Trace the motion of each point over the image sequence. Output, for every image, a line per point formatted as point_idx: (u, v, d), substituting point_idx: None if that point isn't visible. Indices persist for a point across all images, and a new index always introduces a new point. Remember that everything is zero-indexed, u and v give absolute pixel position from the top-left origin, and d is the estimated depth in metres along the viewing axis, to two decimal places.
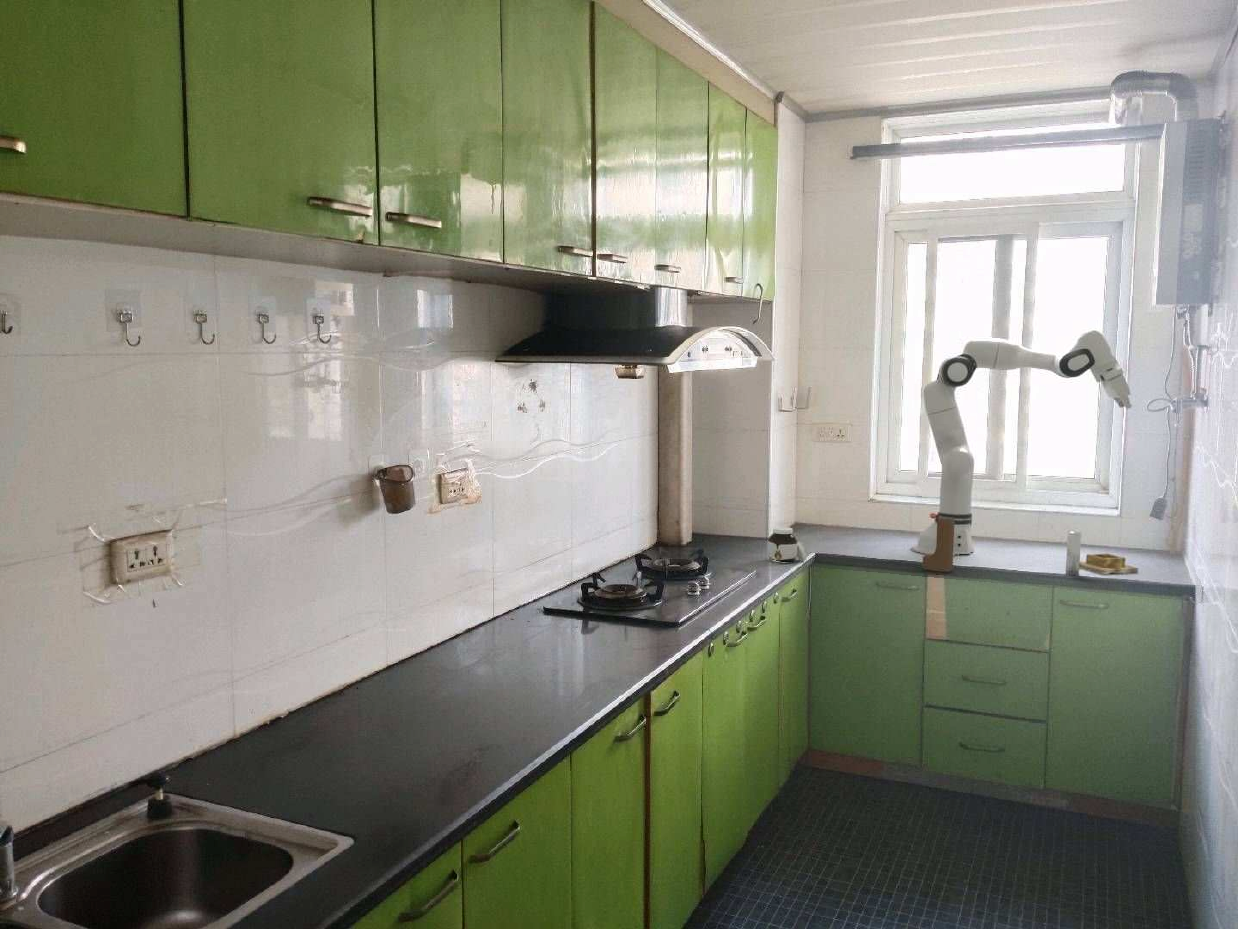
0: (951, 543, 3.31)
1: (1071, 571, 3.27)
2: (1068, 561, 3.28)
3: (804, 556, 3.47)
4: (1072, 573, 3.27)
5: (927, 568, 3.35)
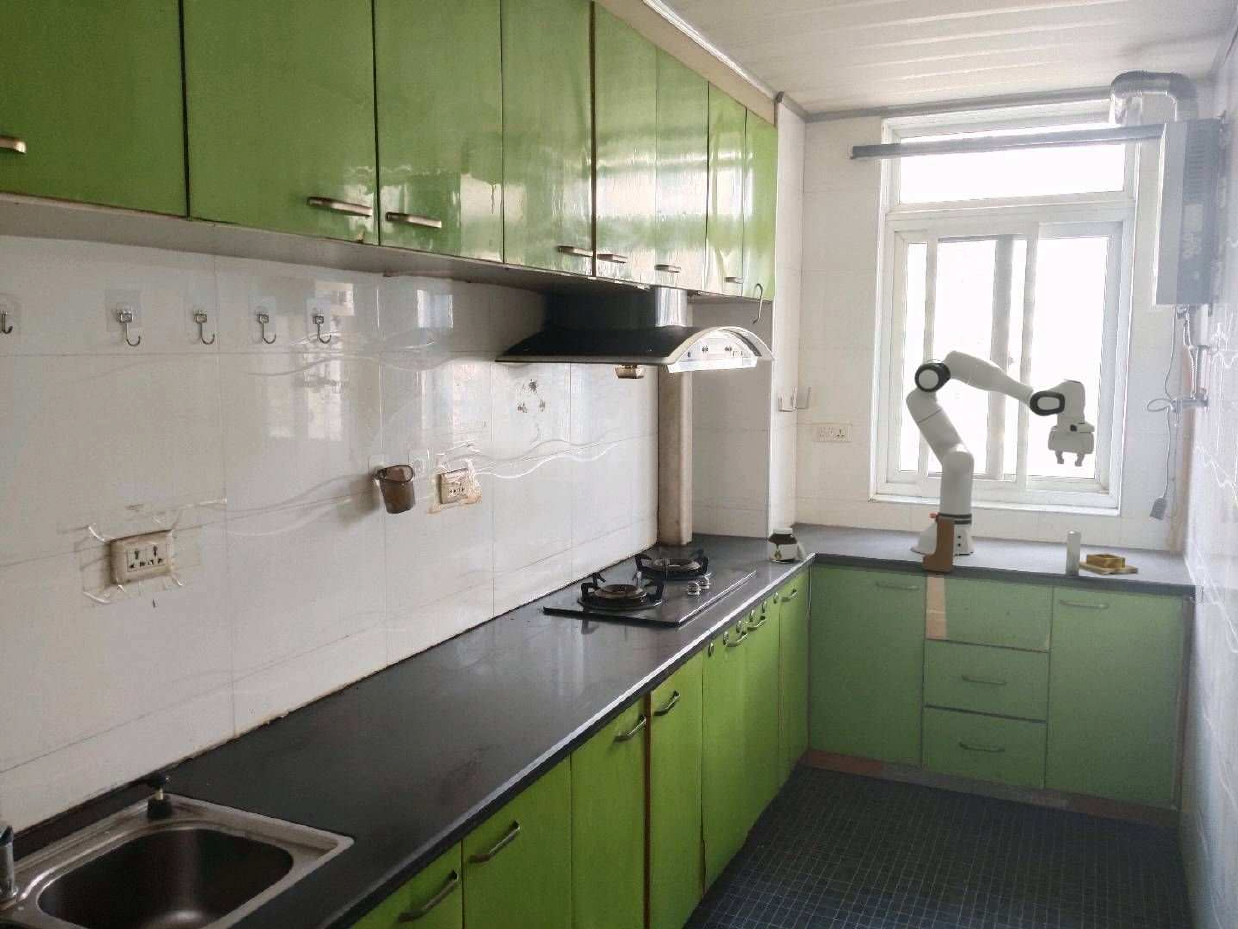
0: (951, 543, 3.31)
1: (1071, 571, 3.27)
2: (1068, 561, 3.28)
3: (804, 556, 3.47)
4: (1072, 573, 3.27)
5: (927, 568, 3.35)
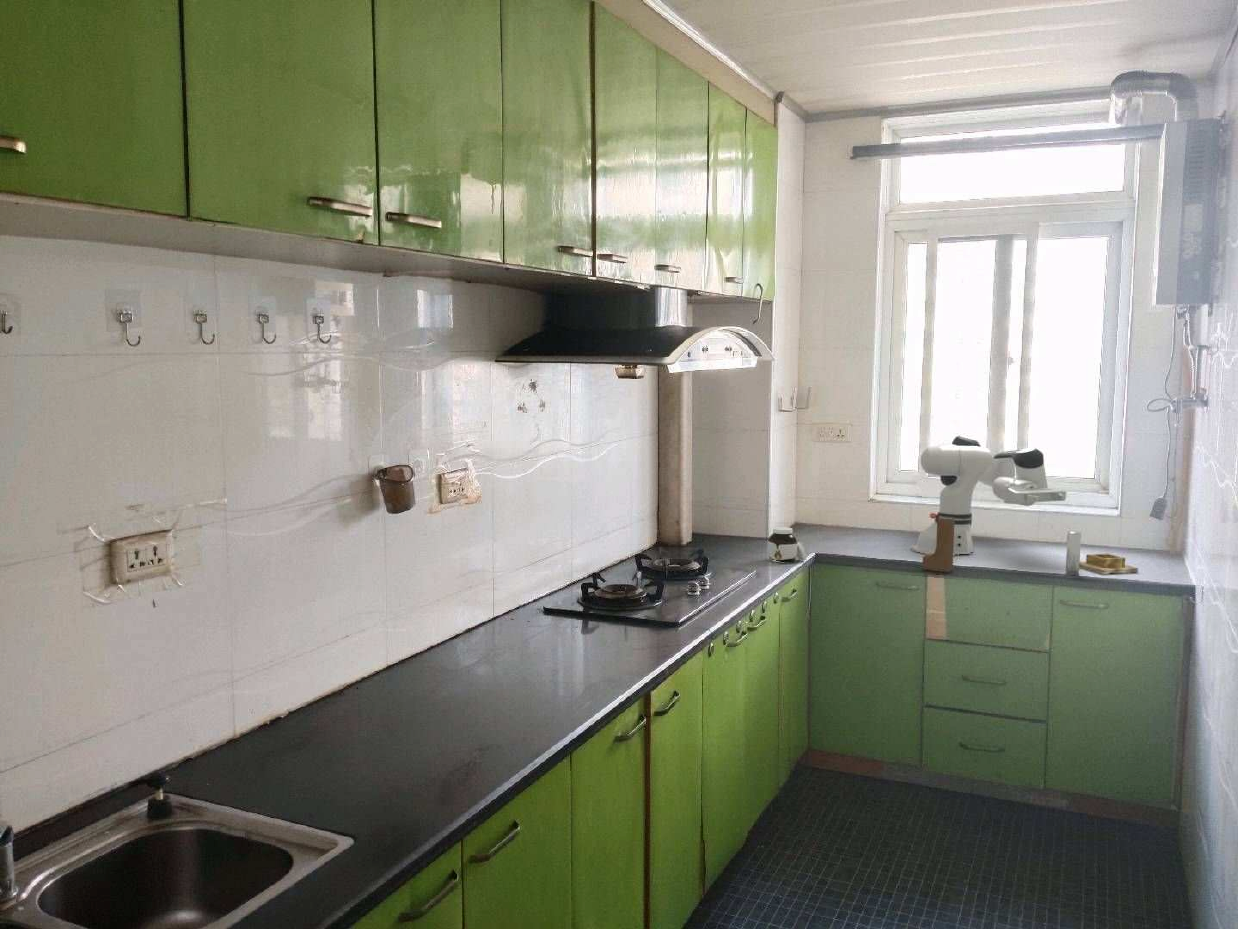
0: (951, 543, 3.31)
1: (1071, 571, 3.27)
2: (1068, 561, 3.28)
3: (804, 556, 3.47)
4: (1072, 573, 3.27)
5: (927, 568, 3.35)
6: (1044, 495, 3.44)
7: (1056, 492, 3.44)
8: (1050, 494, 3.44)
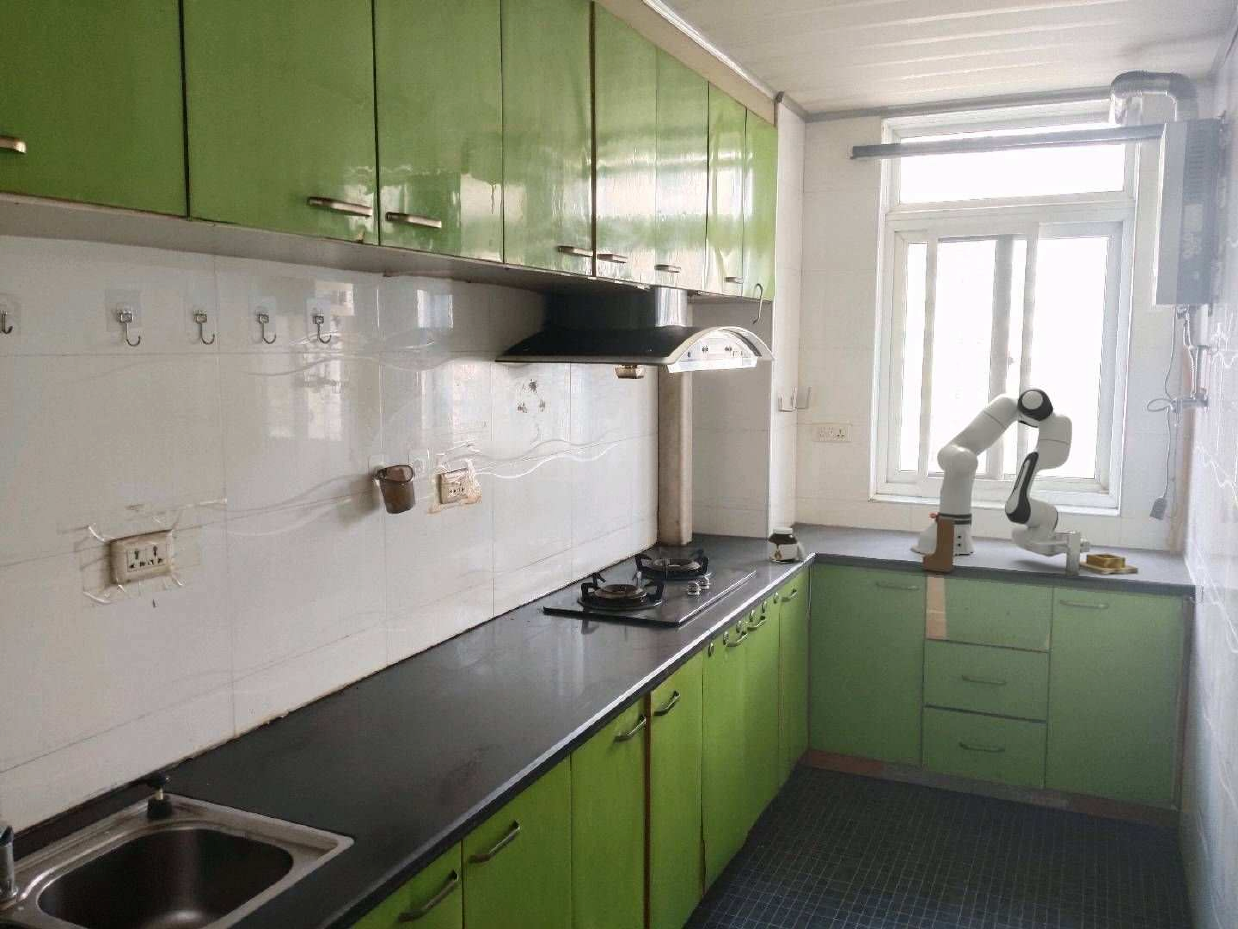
0: (951, 543, 3.31)
1: (1071, 571, 3.27)
2: (1068, 561, 3.28)
3: (804, 556, 3.47)
4: (1072, 573, 3.27)
5: (927, 568, 3.35)
6: None
7: (1051, 552, 3.31)
8: None
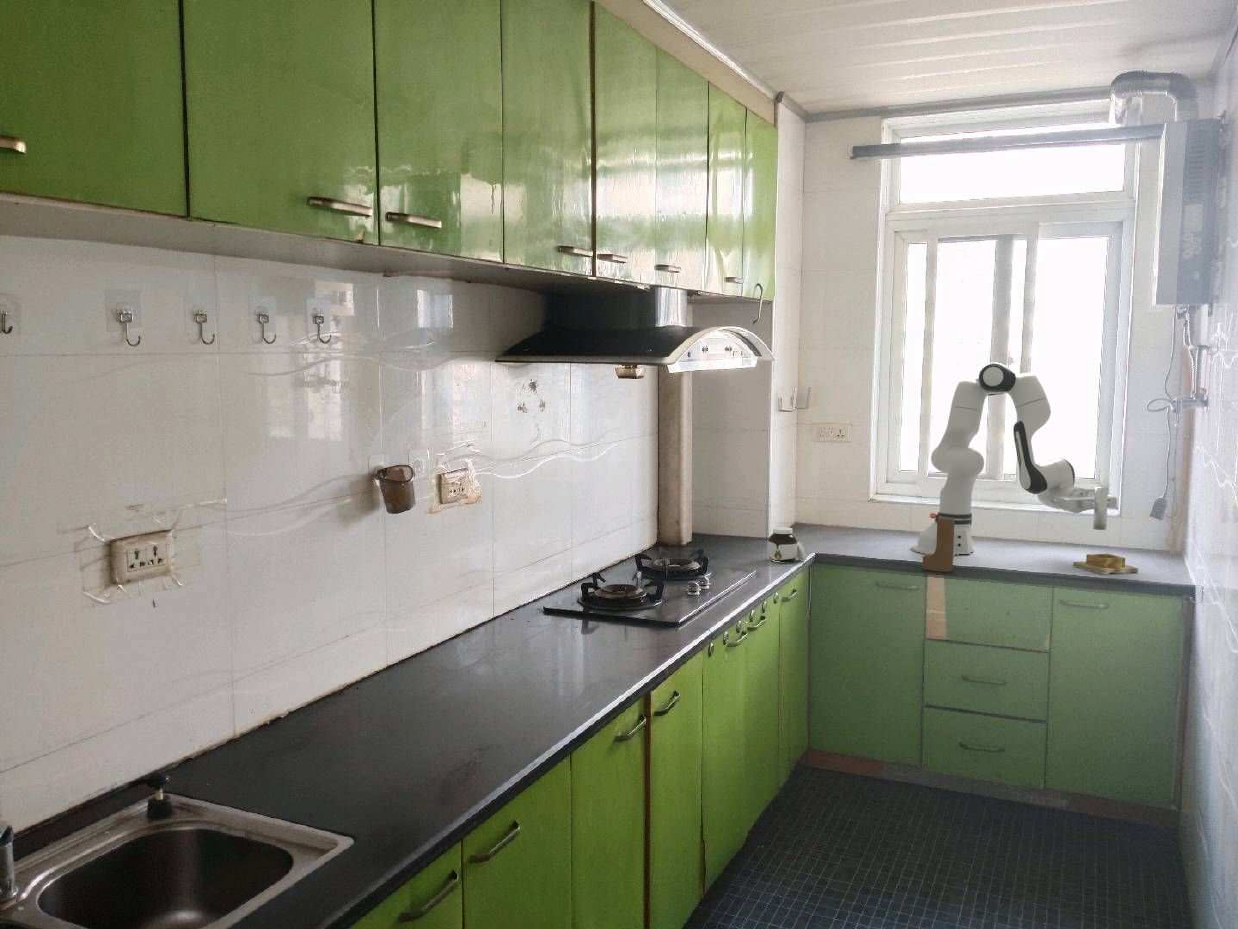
0: (951, 543, 3.31)
1: (1099, 526, 3.31)
2: (1095, 516, 3.32)
3: (804, 556, 3.47)
4: (1099, 527, 3.31)
5: (927, 568, 3.35)
6: None
7: (1078, 508, 3.35)
8: None
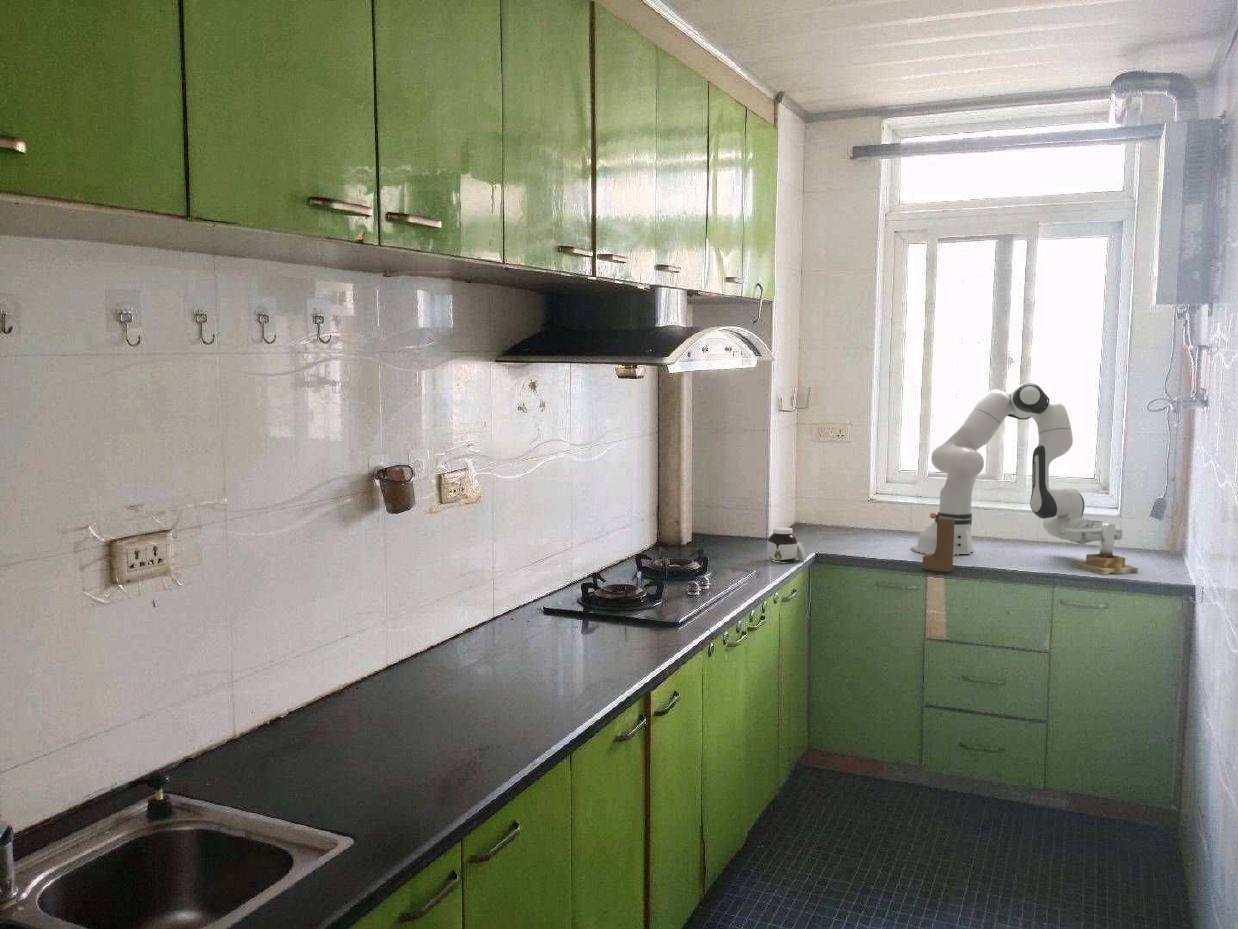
0: (951, 543, 3.31)
1: None
2: (1102, 552, 3.35)
3: (804, 556, 3.47)
4: None
5: (927, 568, 3.35)
6: None
7: (1084, 540, 3.38)
8: None
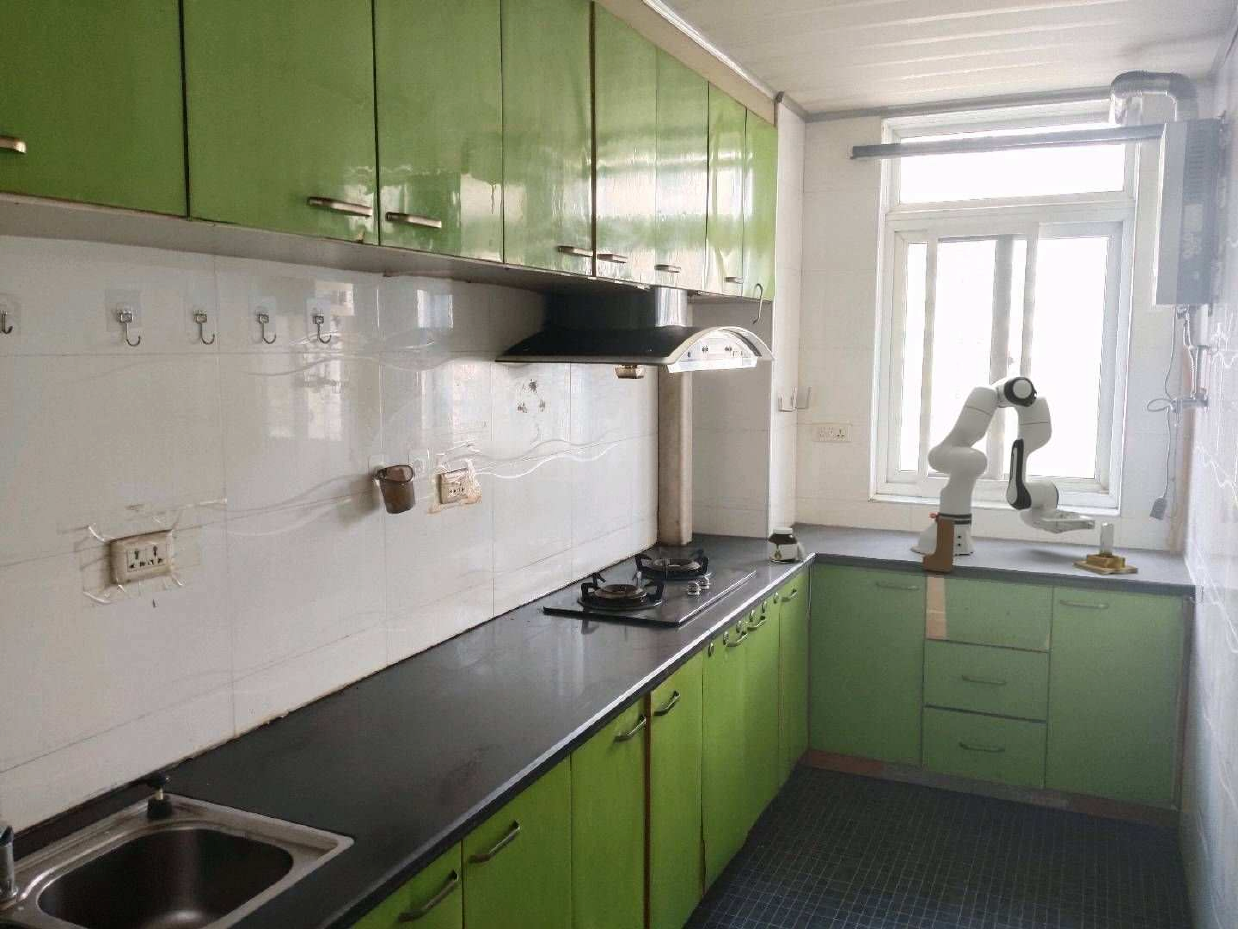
0: (951, 543, 3.31)
1: None
2: (1101, 552, 3.35)
3: (804, 556, 3.47)
4: None
5: (927, 568, 3.35)
6: None
7: (1058, 529, 3.50)
8: None
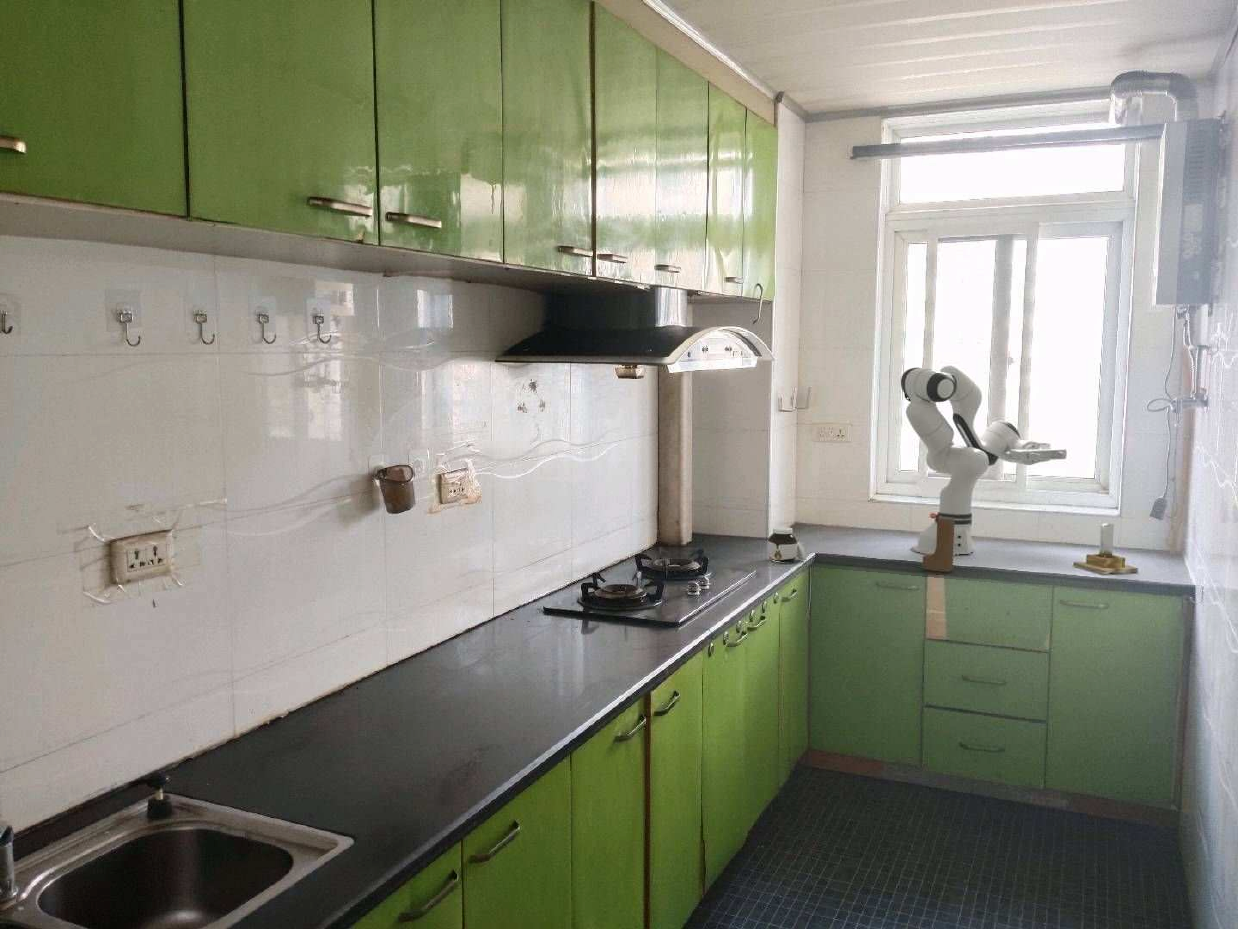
0: (951, 543, 3.31)
1: None
2: (1101, 552, 3.35)
3: (804, 556, 3.47)
4: None
5: (927, 568, 3.35)
6: None
7: (1029, 459, 3.55)
8: None
